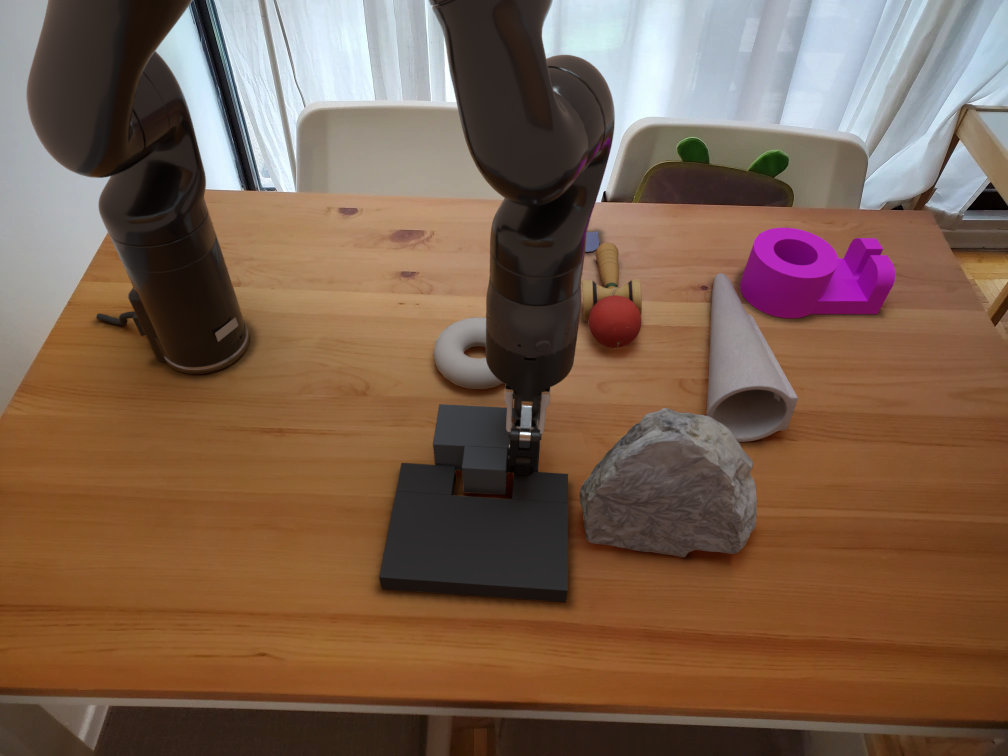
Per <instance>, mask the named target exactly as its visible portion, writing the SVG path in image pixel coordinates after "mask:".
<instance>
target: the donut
mask: <svg viewBox="0 0 1008 756" xmlns="http://www.w3.org/2000/svg"><path fill="white" fill-rule="evenodd" d="M473 347H483V348H486V317H480V316H479V317H478V316H472V317H467V318H463V319H460V320H458V321H454V322H453V323H450V325H448V326H447V327H445V328H444V329H443V330H442V331H441V332H440V334H439V335H438V337H437V339H436V340H435V342H434V349H433V355H432V356H433V359H434V362H435V365H436V366H435V367H436V369H437V370H438V371H439V372H440V374H441V375H442V376H443V377H444V378H445V379H446V380H448V381H449V382H451V383H453V384H454V385H456V386H459V387H461V388H464V389H469V390H471V389H472V390H487V389H490V388H496V387H498V386H500V385H502V384H504V383H503V382H501V381H500V380H499V379H497V378H496V377H495V376H494V375H493V373H492V372H491V371H490V369H489V367H488V365H487V362H486V357H482V358H474V357H471V356H469V355H467V354H465V351H466V350H468V349H470V348H473Z"/></svg>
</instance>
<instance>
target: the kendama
mask: <svg viewBox="0 0 1008 756" xmlns="http://www.w3.org/2000/svg"><path fill="white" fill-rule="evenodd" d="M595 259H596V261H597V265H598V266H597V267H598V271H599V275H600V280H601V283H602V285H603V286H601V285H599V284H598V283H596V282H595V281H594V280H593V279H585V280H582V281H581V293H582V311H583V313H582V314H583V320H584V321H588V328H589V331H590V334H591V336H592V338H593V339H594V340H595V341H596V342H597V343H598V344H599V345H601V346H603V347H606V348H609V349H616V350H618V349H621V348H624V347H627V346H628V345H631V343H633V342H634V341H635V340H636V339H637V337H638V336H639V334H640V331H641V329H642V320H643V319H642V314H643V297H642V295H643V294H642V283H641V279H633V278H632V279H631V280H629V281H628V282H627V283H626V284H623V285H622V286H619V279H620V273H619V272H620V271H619V269H620V268H619V266H620V265H619V249H618V247H617V245H616V244H614V243H612V242H604V243H601V244H599V247H598V248H597V249H596V250H595Z"/></svg>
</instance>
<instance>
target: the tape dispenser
mask: <svg viewBox="0 0 1008 756" xmlns="http://www.w3.org/2000/svg"><path fill="white" fill-rule="evenodd" d="M883 251H884V248H883V246H882V244H881V243H880V241H879V240H878V239H877V238H876V237H856V238H854V239H852V240H851V242H850V244H849V245H848V247H847V249H846V252H845V254H844V256H843V258H841V257H839V256H838V253H837V252H836V250H835V248H834V247H833V246H832V245H831V244H830V243H829V242H828V241H827V240H825V239H824V238H822V237H821V236H818V235H817V234H814V233H812V232H810V231H806V230H803V229H798V228H793V227H774V228H769V229H766V230H764V231H762V232H760V233H759V234H758V235H757V236H756V237H755V239H754V240H753V243H752V246H751V250H750V253H749V256H748V258H747V261H746V264H745V266H744V271H743V273H742V276H741V278H740V282H739V290H740V293H741V294H742V297H743V298H744V299H745V301H747V302H748V303H749V304H750V305H751V306H753V308H755V309H756V310H759V311H760V312H762V313H765V314H767V315H770V316H773V317H777V318H781V319H782V318H783V319H798V318H799V319H800V318H804V317H808V316H810V315H878V314H879V313H880V310H881V309H882V307H883V305H884V303H885V301H886V300H887V298H888V296H889V294H890V292H891V290H893V289H892V288H893V287H894V285H895V282H896V281H895V280H896V268H895V265H894V263H893V261H892V259H891V258H890V257H889V256H888V255H887V254H882V253H883Z"/></svg>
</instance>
